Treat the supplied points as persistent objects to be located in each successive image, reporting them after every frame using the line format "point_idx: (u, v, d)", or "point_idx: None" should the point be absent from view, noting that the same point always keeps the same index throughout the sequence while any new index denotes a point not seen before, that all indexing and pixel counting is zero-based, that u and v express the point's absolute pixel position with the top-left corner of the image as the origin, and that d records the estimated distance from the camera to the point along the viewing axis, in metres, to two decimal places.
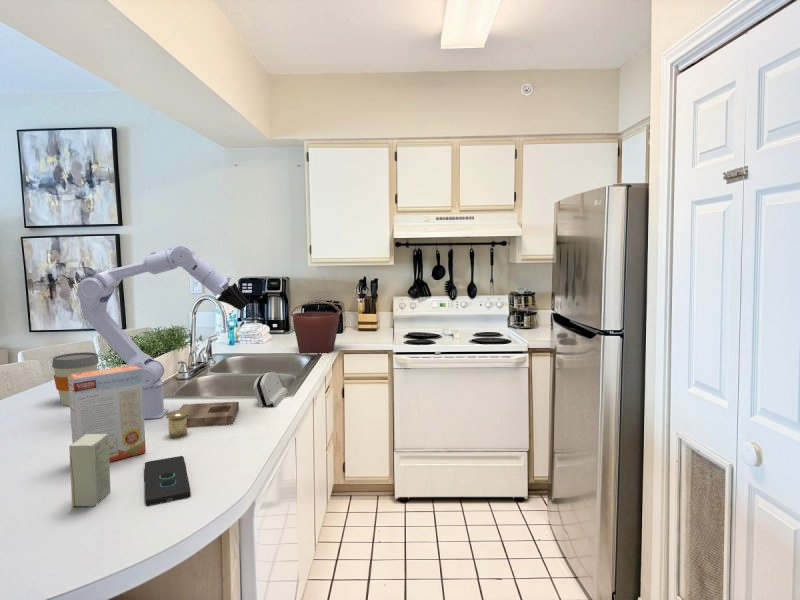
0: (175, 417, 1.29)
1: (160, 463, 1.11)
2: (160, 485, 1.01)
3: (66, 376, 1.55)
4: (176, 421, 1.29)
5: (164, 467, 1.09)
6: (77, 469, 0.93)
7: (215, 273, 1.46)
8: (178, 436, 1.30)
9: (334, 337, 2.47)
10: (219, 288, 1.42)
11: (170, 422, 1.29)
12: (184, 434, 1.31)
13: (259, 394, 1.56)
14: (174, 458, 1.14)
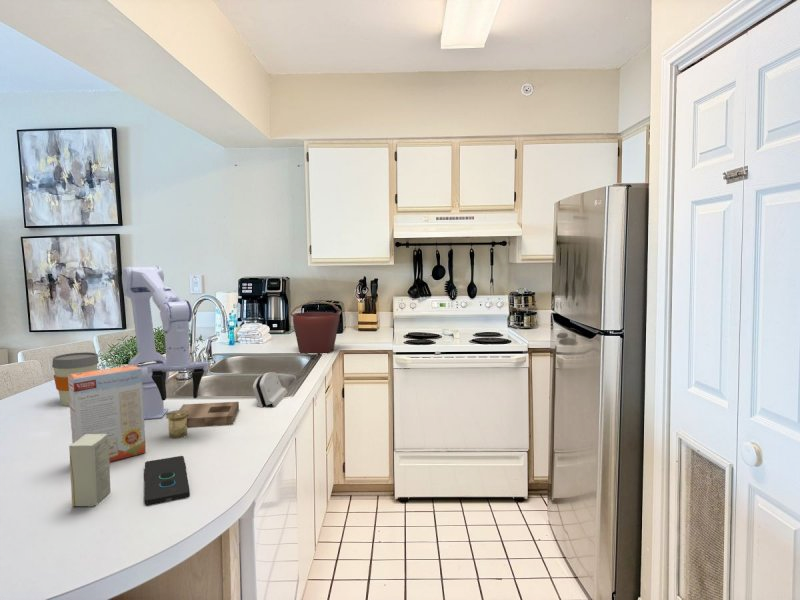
0: (175, 417, 1.29)
1: (161, 463, 1.11)
2: (159, 485, 1.01)
3: (66, 376, 1.55)
4: (176, 421, 1.29)
5: (164, 466, 1.09)
6: (77, 469, 0.93)
7: (169, 352, 1.28)
8: (178, 436, 1.30)
9: (334, 337, 2.47)
10: None
11: (170, 422, 1.29)
12: (184, 434, 1.31)
13: (258, 394, 1.56)
14: (174, 458, 1.14)
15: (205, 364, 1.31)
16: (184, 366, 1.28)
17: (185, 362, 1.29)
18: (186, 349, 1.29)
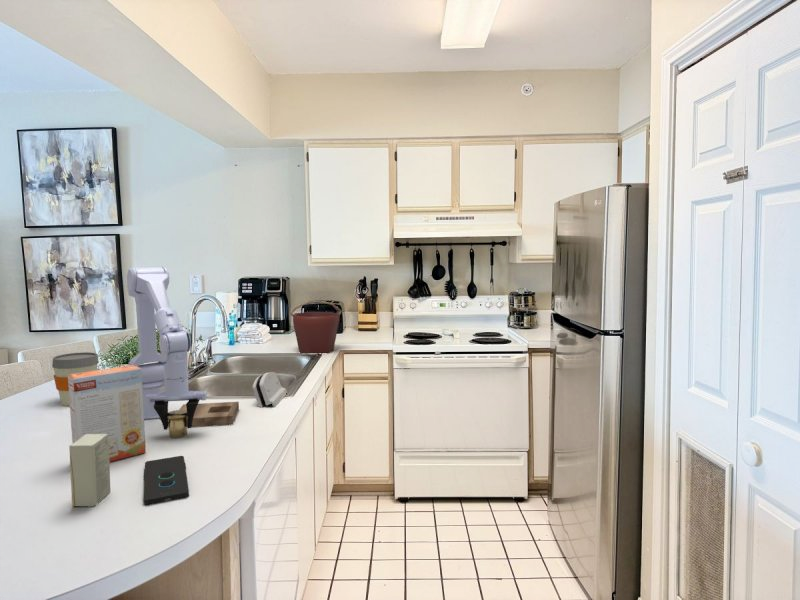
0: (175, 417, 1.29)
1: (161, 463, 1.11)
2: (159, 485, 1.01)
3: (66, 376, 1.55)
4: (176, 421, 1.29)
5: (164, 466, 1.09)
6: (77, 468, 0.93)
7: (167, 383, 1.28)
8: (178, 436, 1.30)
9: (334, 337, 2.47)
10: None
11: (170, 422, 1.29)
12: (184, 434, 1.31)
13: (258, 394, 1.56)
14: (174, 457, 1.14)
15: (203, 394, 1.31)
16: (182, 397, 1.29)
17: (183, 392, 1.29)
18: (184, 379, 1.29)
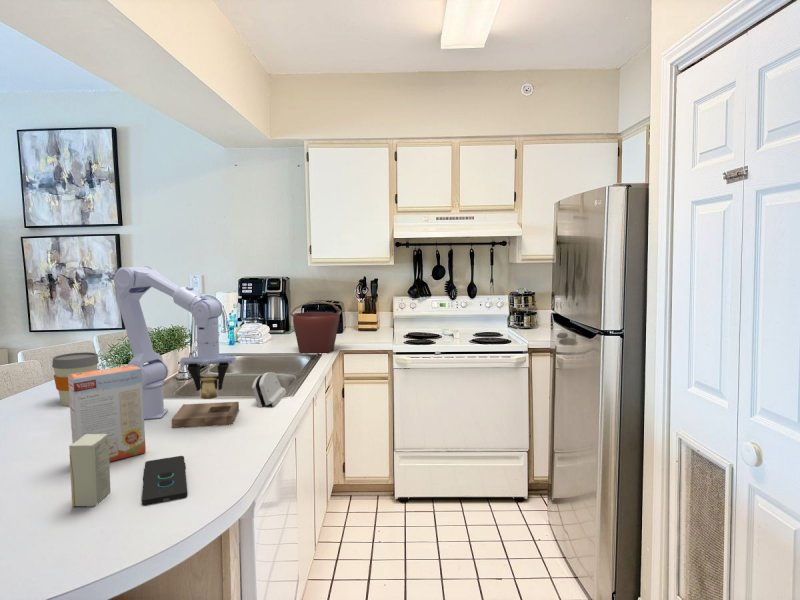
0: (207, 379, 1.39)
1: (161, 463, 1.11)
2: (158, 485, 1.01)
3: (66, 376, 1.55)
4: (208, 383, 1.39)
5: (164, 466, 1.10)
6: (77, 468, 0.93)
7: (200, 347, 1.38)
8: (209, 397, 1.40)
9: (334, 337, 2.47)
10: None
11: (202, 384, 1.39)
12: (214, 395, 1.40)
13: (258, 394, 1.56)
14: (174, 457, 1.14)
15: (233, 358, 1.41)
16: (214, 360, 1.39)
17: (215, 356, 1.39)
18: (216, 344, 1.39)
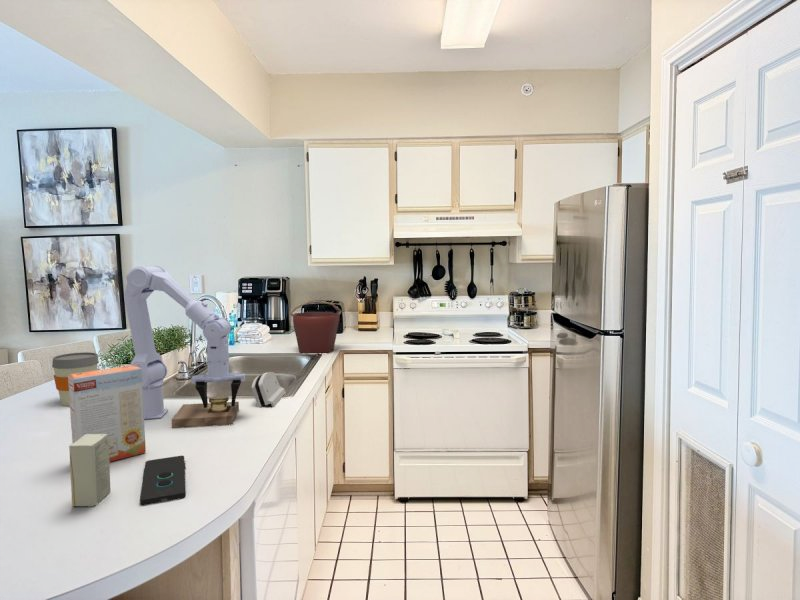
0: (217, 401, 1.43)
1: (161, 462, 1.12)
2: (156, 485, 1.01)
3: (66, 376, 1.55)
4: (218, 405, 1.43)
5: (164, 466, 1.10)
6: (77, 469, 0.93)
7: (211, 365, 1.42)
8: None
9: (334, 337, 2.47)
10: None
11: (212, 406, 1.44)
12: None
13: (257, 394, 1.56)
14: (175, 457, 1.15)
15: (242, 376, 1.45)
16: (224, 378, 1.43)
17: (225, 374, 1.43)
18: (226, 362, 1.44)
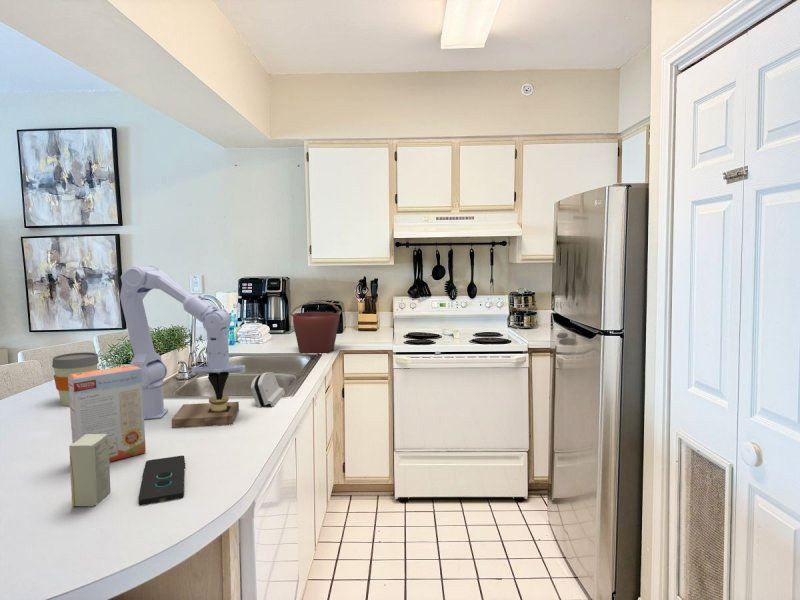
0: (217, 401, 1.43)
1: (161, 462, 1.12)
2: (155, 485, 1.01)
3: (66, 376, 1.55)
4: (218, 405, 1.43)
5: (163, 466, 1.10)
6: (77, 469, 0.93)
7: (210, 357, 1.42)
8: None
9: (334, 337, 2.47)
10: None
11: (212, 406, 1.44)
12: None
13: (257, 394, 1.56)
14: (175, 457, 1.15)
15: (242, 368, 1.45)
16: (224, 369, 1.43)
17: (225, 365, 1.43)
18: (226, 354, 1.43)
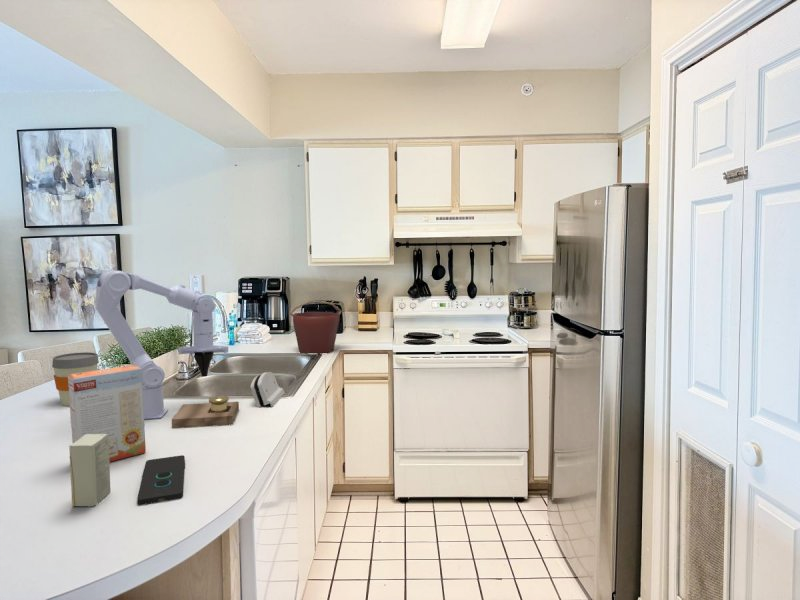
0: (217, 401, 1.43)
1: (161, 462, 1.12)
2: (155, 485, 1.01)
3: (66, 376, 1.55)
4: (218, 405, 1.43)
5: (163, 466, 1.10)
6: (77, 468, 0.93)
7: (196, 337, 1.54)
8: None
9: (334, 337, 2.47)
10: None
11: (212, 406, 1.44)
12: None
13: (256, 394, 1.56)
14: (175, 457, 1.15)
15: (225, 348, 1.57)
16: (208, 349, 1.55)
17: (209, 345, 1.55)
18: (210, 335, 1.55)
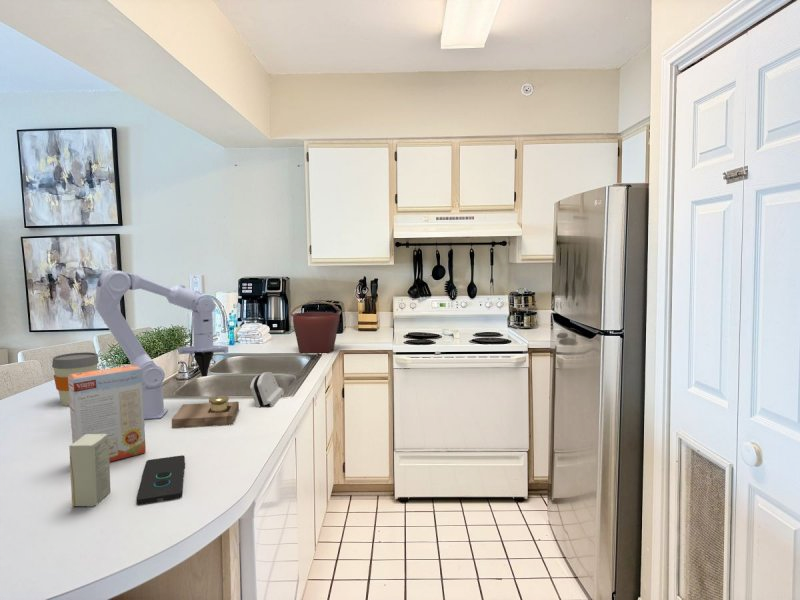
0: (217, 401, 1.43)
1: (161, 462, 1.12)
2: (154, 484, 1.01)
3: (66, 376, 1.55)
4: (218, 405, 1.43)
5: (163, 466, 1.10)
6: (77, 468, 0.93)
7: (196, 337, 1.54)
8: None
9: (334, 337, 2.47)
10: None
11: (212, 406, 1.44)
12: None
13: (256, 394, 1.56)
14: (175, 457, 1.15)
15: (225, 348, 1.57)
16: (208, 349, 1.55)
17: (209, 345, 1.55)
18: (210, 335, 1.55)
